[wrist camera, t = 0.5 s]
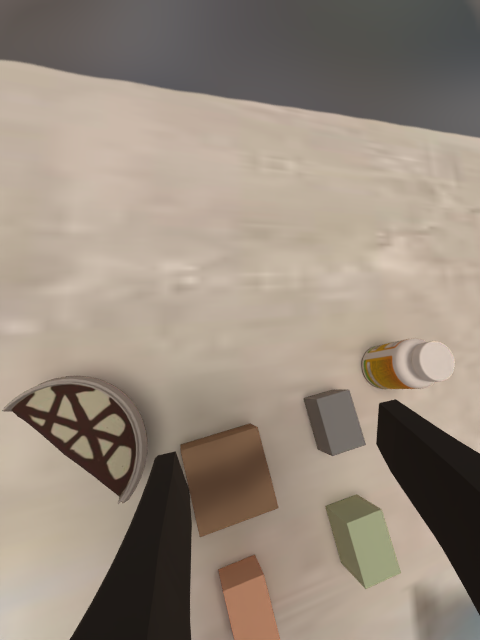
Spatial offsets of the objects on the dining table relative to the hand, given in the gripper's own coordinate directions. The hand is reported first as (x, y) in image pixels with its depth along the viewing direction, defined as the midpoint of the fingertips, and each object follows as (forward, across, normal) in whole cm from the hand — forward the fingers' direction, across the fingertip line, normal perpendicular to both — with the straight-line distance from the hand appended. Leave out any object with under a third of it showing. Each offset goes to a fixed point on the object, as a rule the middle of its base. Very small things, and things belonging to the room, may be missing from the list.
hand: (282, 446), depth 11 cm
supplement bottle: (+24, -18, +18) cm, 35 cm away
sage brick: (+12, -8, +30) cm, 34 cm away
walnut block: (+17, +4, +22) cm, 28 cm away
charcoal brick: (+20, -9, +21) cm, 30 cm away
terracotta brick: (+9, +4, +31) cm, 33 cm away
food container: (+21, +14, +14) cm, 29 cm away
